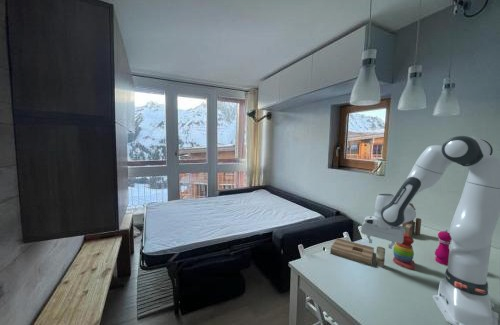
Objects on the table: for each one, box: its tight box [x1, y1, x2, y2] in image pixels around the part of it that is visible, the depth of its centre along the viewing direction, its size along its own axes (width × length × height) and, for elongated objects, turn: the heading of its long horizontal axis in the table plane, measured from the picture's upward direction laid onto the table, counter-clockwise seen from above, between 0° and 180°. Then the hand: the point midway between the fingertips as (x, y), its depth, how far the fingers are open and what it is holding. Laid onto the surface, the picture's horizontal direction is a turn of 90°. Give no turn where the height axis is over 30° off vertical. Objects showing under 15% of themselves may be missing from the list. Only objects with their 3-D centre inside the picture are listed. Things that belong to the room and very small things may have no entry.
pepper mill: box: [434, 228, 452, 266], centre depth 119 cm, size 7×7×20 cm
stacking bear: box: [392, 233, 415, 270], centre depth 117 cm, size 11×10×18 cm
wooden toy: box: [401, 202, 422, 237], centre depth 157 cm, size 16×7×25 cm, turn 114°
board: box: [329, 237, 375, 267], centre depth 127 cm, size 18×22×4 cm
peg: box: [375, 246, 386, 268], centre depth 115 cm, size 4×4×10 cm
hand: (380, 245), depth 115 cm, fingers open, 8 cm apart
